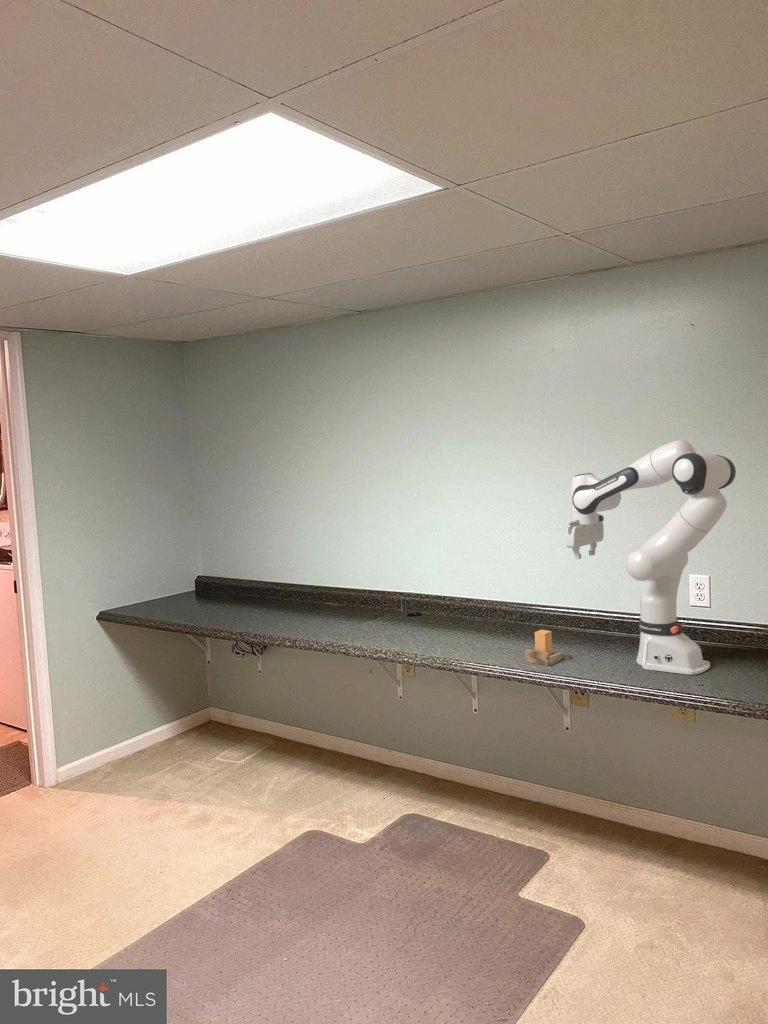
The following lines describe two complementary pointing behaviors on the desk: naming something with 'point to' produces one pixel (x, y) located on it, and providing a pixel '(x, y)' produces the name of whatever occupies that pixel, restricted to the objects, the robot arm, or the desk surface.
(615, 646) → the desk surface
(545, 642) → the block
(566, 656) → the door edge strip
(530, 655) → the index bracket
